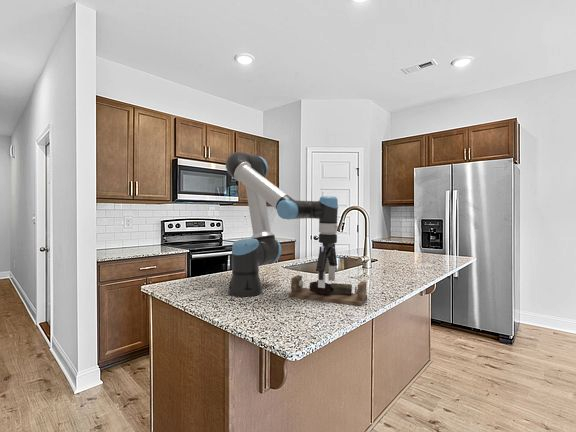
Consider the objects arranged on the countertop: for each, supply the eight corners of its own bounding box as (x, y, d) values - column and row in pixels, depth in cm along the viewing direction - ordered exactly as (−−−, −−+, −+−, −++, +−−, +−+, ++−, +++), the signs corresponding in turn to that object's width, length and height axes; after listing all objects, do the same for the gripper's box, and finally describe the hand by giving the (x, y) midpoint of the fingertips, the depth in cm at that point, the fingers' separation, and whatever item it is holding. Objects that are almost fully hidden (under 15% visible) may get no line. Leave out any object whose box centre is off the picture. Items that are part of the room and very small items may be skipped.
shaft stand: (288, 297, 136) (288, 279, 136) (299, 290, 147) (299, 274, 147) (361, 306, 124) (361, 286, 124) (367, 298, 135) (367, 280, 134)
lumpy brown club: (351, 293, 138) (351, 280, 137) (352, 297, 131) (352, 283, 131) (309, 291, 140) (309, 278, 140) (308, 295, 134) (308, 282, 133)
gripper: (327, 236, 122) (326, 292, 123) (344, 231, 145) (343, 278, 145) (308, 235, 125) (307, 289, 126) (328, 231, 148) (327, 277, 149)
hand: (326, 284), depth 136 cm, fingers open, 13 cm apart
